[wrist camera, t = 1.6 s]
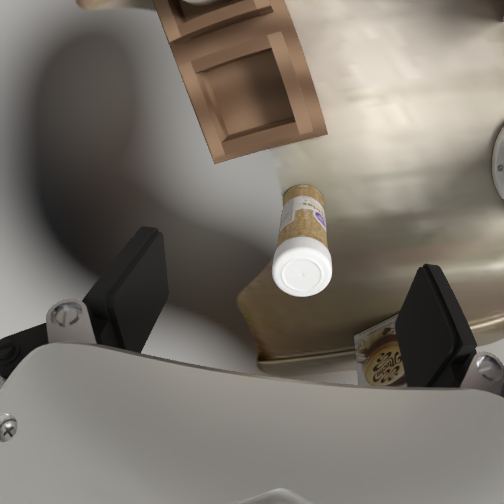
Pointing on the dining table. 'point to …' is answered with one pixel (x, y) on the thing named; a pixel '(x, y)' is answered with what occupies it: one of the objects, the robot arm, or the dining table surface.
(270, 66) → the condiment rack
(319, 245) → the sprinkles bottle
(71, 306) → the robot arm
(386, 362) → the coffee box
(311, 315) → the dining table surface
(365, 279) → the dining table surface
